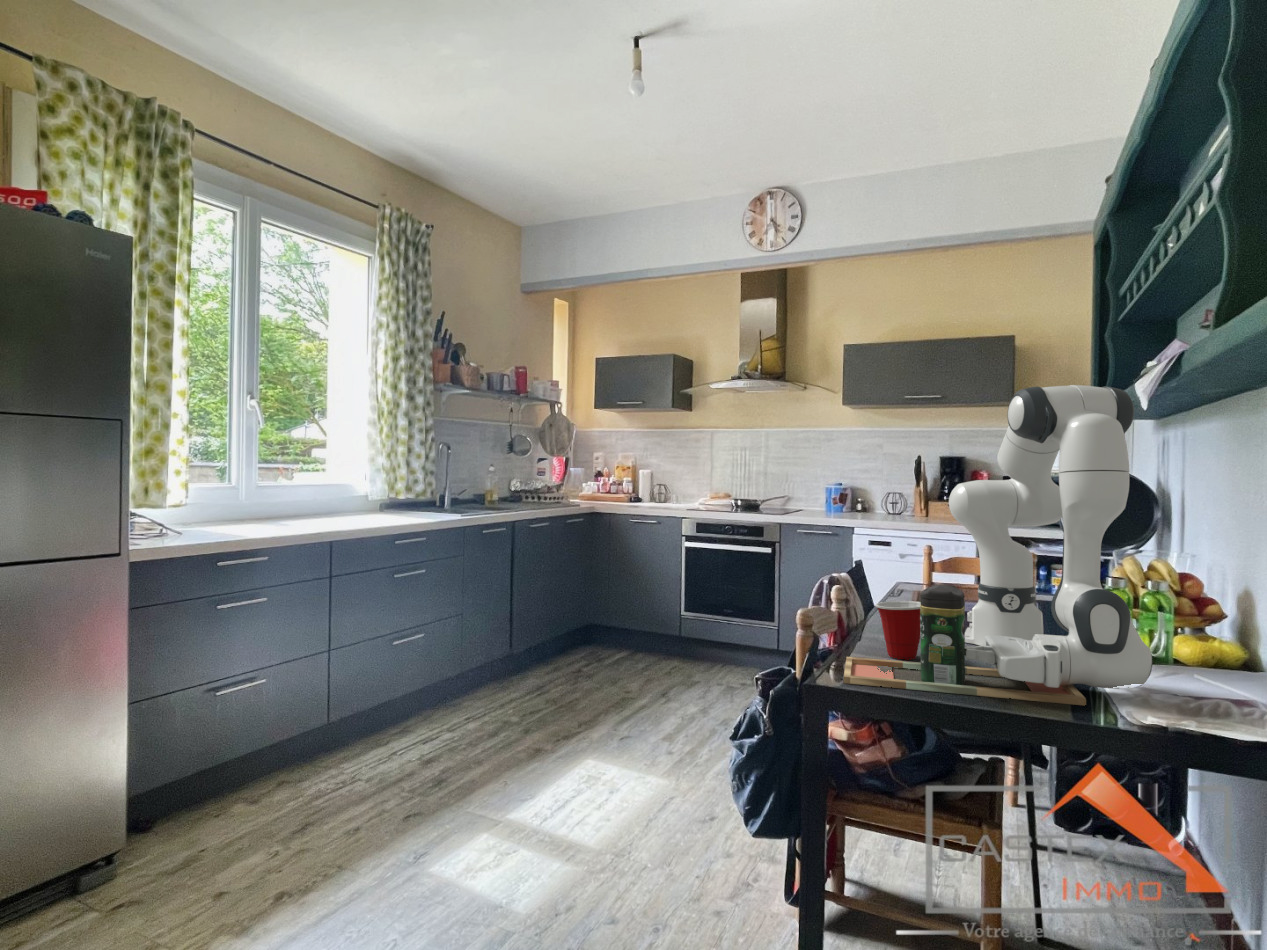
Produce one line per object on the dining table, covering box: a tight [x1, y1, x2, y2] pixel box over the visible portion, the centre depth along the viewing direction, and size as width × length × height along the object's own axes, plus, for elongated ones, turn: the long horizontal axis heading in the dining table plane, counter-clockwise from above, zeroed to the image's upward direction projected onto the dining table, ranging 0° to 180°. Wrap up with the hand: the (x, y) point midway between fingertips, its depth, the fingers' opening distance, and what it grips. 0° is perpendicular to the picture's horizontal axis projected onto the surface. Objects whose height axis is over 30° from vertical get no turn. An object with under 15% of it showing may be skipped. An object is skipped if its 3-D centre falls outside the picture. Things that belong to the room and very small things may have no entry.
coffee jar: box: [919, 584, 966, 685], centre depth 137 cm, size 10×8×19 cm
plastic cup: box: [874, 600, 921, 661], centre depth 156 cm, size 11×11×12 cm
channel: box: [843, 656, 1087, 706], centre depth 137 cm, size 16×40×1 cm, turn 71°
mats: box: [851, 664, 1070, 695], centre depth 137 cm, size 12×38×1 cm, turn 71°
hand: (964, 652), depth 137 cm, fingers closed
